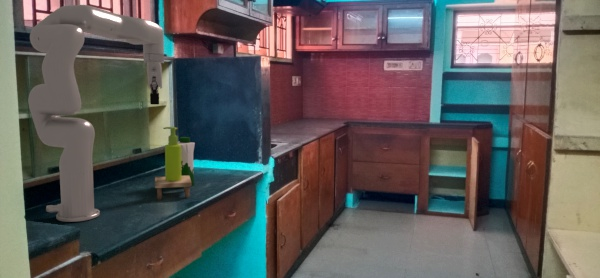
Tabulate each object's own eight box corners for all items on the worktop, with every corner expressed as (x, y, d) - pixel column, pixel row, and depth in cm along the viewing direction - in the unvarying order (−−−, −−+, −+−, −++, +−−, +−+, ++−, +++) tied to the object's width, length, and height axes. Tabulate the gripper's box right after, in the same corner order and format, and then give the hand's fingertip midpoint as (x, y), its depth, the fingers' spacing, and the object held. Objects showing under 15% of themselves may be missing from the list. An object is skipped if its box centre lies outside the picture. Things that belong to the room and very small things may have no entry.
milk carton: (197, 184, 199) (197, 137, 197) (182, 189, 191) (182, 139, 189) (181, 182, 203) (180, 136, 201) (166, 186, 195) (165, 138, 193)
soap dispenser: (170, 176, 185) (170, 125, 183) (184, 179, 182) (184, 127, 180) (159, 179, 180) (159, 127, 178) (174, 181, 177) (173, 128, 175)
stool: (155, 200, 174) (155, 184, 173) (155, 191, 186) (155, 176, 185) (191, 198, 177) (191, 182, 177) (189, 190, 190) (189, 175, 189)
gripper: (164, 58, 176) (165, 104, 178) (163, 60, 192) (164, 102, 194) (142, 58, 174) (144, 105, 176) (144, 59, 190) (145, 102, 192)
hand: (154, 103), depth 185 cm, fingers open, 9 cm apart
